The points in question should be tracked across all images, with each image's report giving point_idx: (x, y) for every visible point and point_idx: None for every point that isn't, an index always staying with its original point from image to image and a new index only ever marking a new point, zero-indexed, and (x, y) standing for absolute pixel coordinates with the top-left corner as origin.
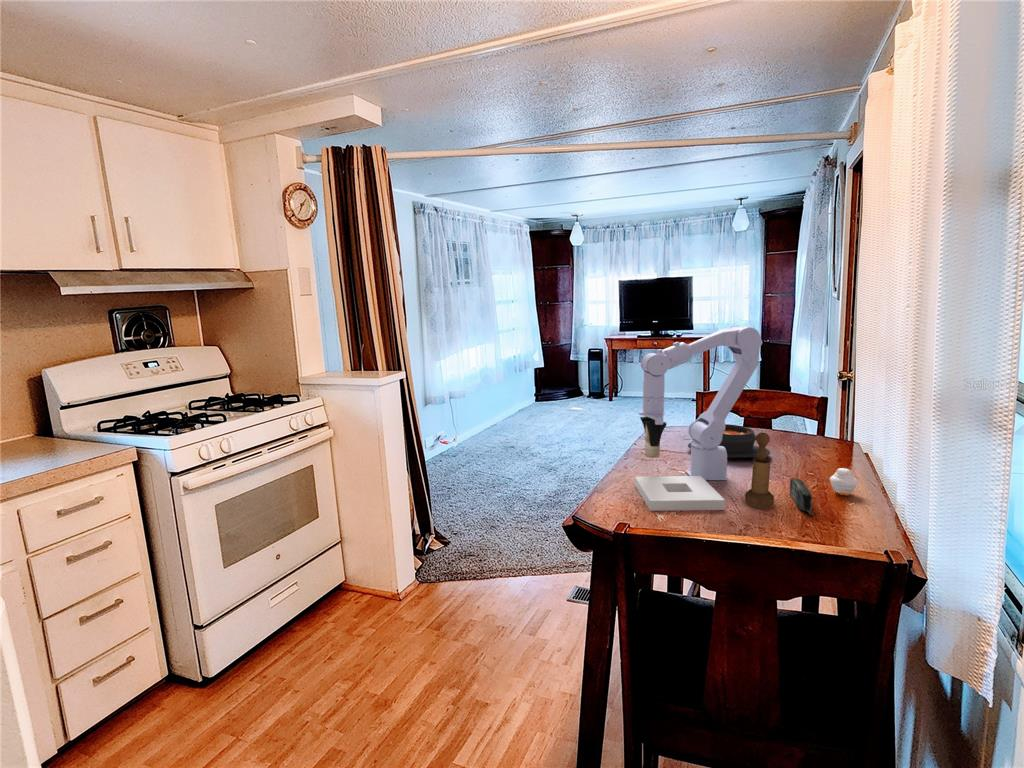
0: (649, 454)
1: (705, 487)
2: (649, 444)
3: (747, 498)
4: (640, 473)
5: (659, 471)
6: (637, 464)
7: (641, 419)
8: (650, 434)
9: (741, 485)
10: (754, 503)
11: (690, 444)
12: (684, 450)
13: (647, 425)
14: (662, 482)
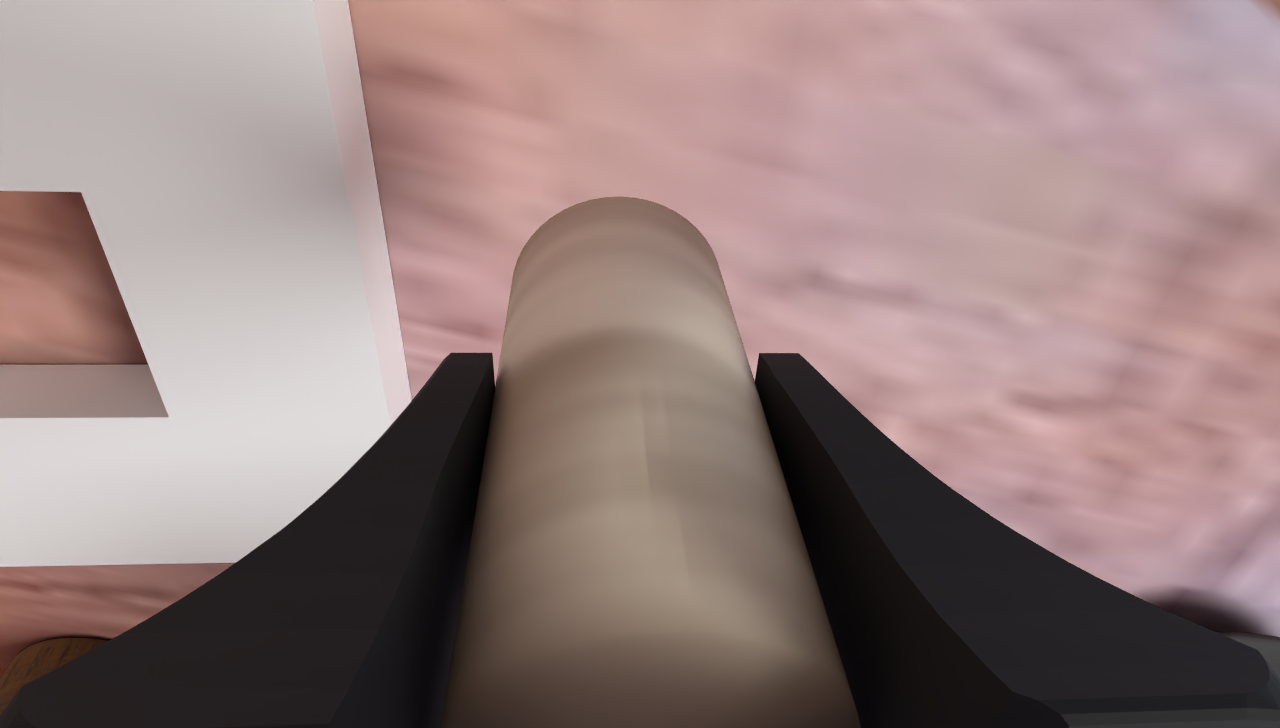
0: (523, 260)
1: (92, 524)
2: (514, 350)
3: (34, 672)
4: (784, 86)
5: (808, 294)
6: (1101, 131)
7: (1042, 684)
8: (311, 513)
9: None
10: (3, 675)
11: (1274, 656)
12: (1265, 585)
13: (5, 712)
14: (127, 211)
